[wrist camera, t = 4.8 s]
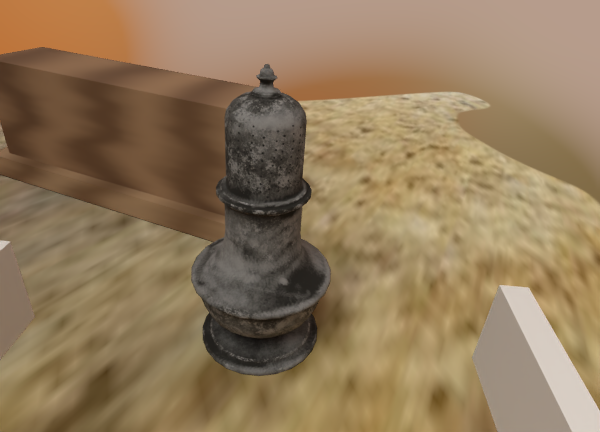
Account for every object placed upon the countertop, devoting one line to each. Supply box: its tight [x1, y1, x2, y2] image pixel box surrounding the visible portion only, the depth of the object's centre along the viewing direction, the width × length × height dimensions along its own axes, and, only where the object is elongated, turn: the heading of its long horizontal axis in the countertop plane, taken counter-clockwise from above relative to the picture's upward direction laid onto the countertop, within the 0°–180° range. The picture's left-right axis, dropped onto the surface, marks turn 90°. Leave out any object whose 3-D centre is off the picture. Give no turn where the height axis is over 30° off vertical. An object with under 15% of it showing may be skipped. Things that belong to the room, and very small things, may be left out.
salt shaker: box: [191, 64, 331, 376], centre depth 18 cm, size 6×6×12 cm
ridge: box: [0, 47, 256, 242], centre depth 30 cm, size 20×6×8 cm, turn 67°
